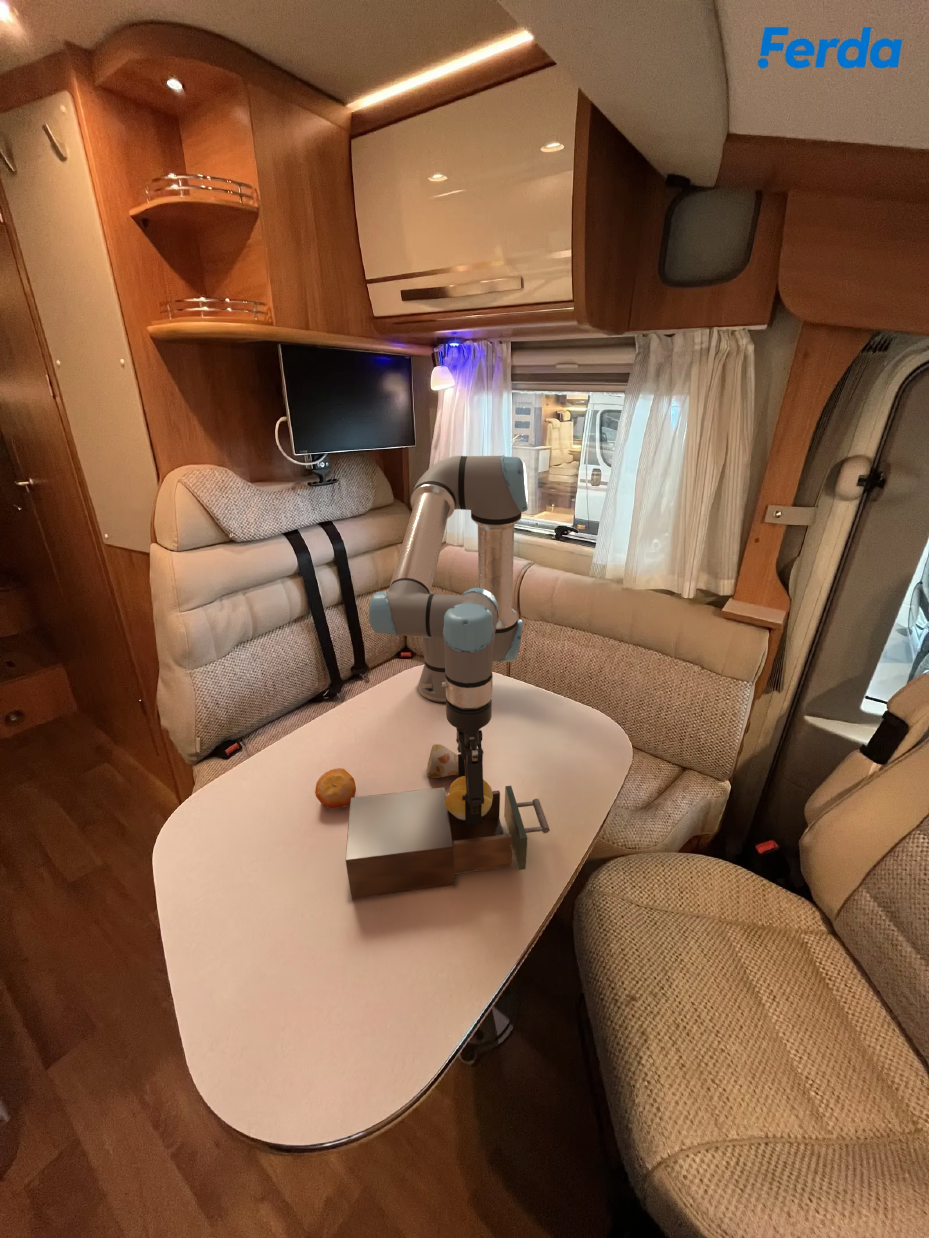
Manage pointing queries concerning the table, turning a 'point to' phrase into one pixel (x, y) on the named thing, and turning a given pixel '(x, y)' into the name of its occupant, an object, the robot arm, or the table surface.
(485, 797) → the bread roll
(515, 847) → the drawer
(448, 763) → the spotted paper cup
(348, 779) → the fruit
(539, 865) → the table surface
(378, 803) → the cabinet
